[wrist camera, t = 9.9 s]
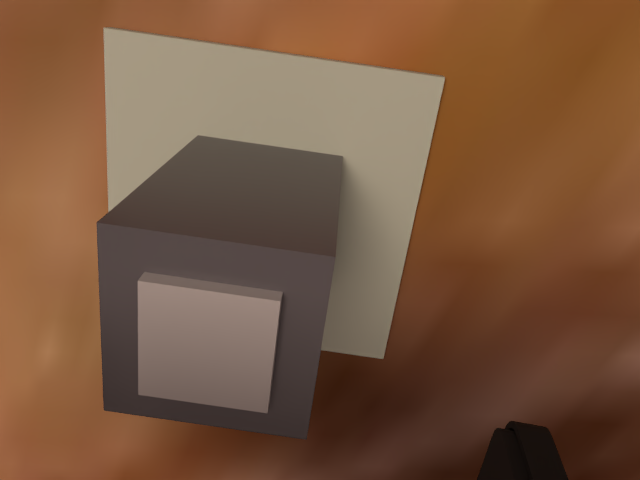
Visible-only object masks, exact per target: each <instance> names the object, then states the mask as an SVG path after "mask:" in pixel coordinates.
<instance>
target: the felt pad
mask: <svg viewBox="0 0 640 480" xmlns="http://www.w3.org/2000/svg"><path fill="white" fill-rule="evenodd" d="M104 63H105V100H106V137H107V174H108V211H111V210H112V209H113V208H114V207H115V206H116V205H118V204H119V203H120V202H121V201H122V200H123V199H125V198H126V197H127V196H128V195H129V194H130V193H131V192H133V191H134V190H135V189H136V188H137V187H138V186H140V185H141V184H142V183H143V182H144V181H145V180H146V179H148V178H149V177H150V176H151V175H152V174H153V173H155V172H156V171H157V170H158V169H159V168H160V167H162V166H163V165H164V164H165V163H166V162H167V161H168V160H170V159H171V158H172V157H173V156H174V155H175V154H177V153H178V152H179V151H180V150H181V149H182V148H184V147H185V146H186V145H187V144H188V143H189V142H190V141H192V140H193V139H194V138H195V137H196V136H197V135H200V136H207V137H214V138H221V139H228V140H235V141H242V142H249V143H256V144H263V145H270V146H277V147H283V148H290V149H297V150H304V151H311V152H318V153H325V154H332V155H339V156H343V163H342V177H341V190H340V204H339V218H338V232H337V246H336V258H335V265H334V271H333V277H332V283H331V290H330V296H329V302H328V308H327V315H326V321H325V327H324V333H323V340H322V346H321V350H324V351H331V352H337V353H344V354H351V355H358V356H365V357H372V358H379V359H383V358H384V354H385V349H386V345H387V340H388V336H389V331H390V326H391V322H392V317H393V313H394V308H395V304H396V299H397V295H398V290H399V286H400V281H401V276H402V272H403V267H404V263H405V258H406V254H407V249H408V245H409V240H410V236H411V231H412V226H413V222H414V217H415V213H416V208H417V204H418V199H419V195H420V190H421V186H422V181H423V176H424V172H425V167H426V163H427V158H428V154H429V149H430V145H431V140H432V135H433V131H434V126H435V122H436V117H437V113H438V108H439V104H440V99H441V95H442V90H443V85H444V81H445V77H444V76H441V75H435V74H428V73H421V72H414V71H407V70H400V69H393V68H387V67H380V66H373V65H366V64H359V63H352V62H346V61H339V60H332V59H325V58H318V57H311V56H304V55H298V54H291V53H284V52H277V51H270V50H263V49H257V48H250V47H243V46H236V45H229V44H222V43H215V42H209V41H202V40H195V39H188V38H181V37H174V36H168V35H161V34H154V33H147V32H140V31H133V30H126V29H120V28H113V27H106V28H104Z"/></svg>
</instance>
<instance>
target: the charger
mask: <svg viewBox="0 0 640 480" xmlns="http://www.w3.org/2000/svg"><path fill="white" fill-rule="evenodd" d="M342 163H343V156H339V155H332V154H325V153H318V152H311V151H304V150H297V149H290V148H283V147H277V146H270V145H263V144H256V143H249V142H242V141H235V140H228V139H221V138H214V137H207V136H200V135H197V136H196V137H195V138H194V139H193V140H192V141H190V142H189V143H188V144H187V145H186V146H185V147H184V148H182V149H181V150H180V151H179V152H178V153H177V154H175V155H174V156H173V157H172V158H171V159H170V160H168V161H167V162H166V163H165V164H164V165H163V166H162V167H160V168H159V169H158V170H157V171H156V172H155V173H153V174H152V175H151V176H150V177H149V178H148V179H146V180H145V181H144V182H143V183H142V184H141V185H140V186H138V187H137V188H136V189H135V190H134V191H133V192H131V193H130V194H129V195H128V196H127V197H126V198H125V199H123V200H122V201H121V202H120V203H119V204H118V205H116V206H115V207H114V208H113V209H112V210H111V211H109V212H108V213H107V214H106V215H105V216H104V217H103V218H101V219H100V220H99V221H98V222H97V245H98V271H99V297H100V323H101V349H102V375H103V401H104V410H105V411H112V412H119V413H125V414H132V415H139V416H146V417H153V418H160V419H167V420H174V421H181V422H188V423H195V424H202V425H209V426H216V427H223V428H229V429H236V430H243V431H250V432H257V433H264V434H271V435H278V436H285V437H292V438H299V439H307V433H308V427H309V421H310V415H311V408H312V402H313V396H314V390H315V383H316V377H317V371H318V365H319V358H320V352H321V346H322V340H323V333H324V327H325V321H326V315H327V308H328V302H329V296H330V290H331V283H332V277H333V271H334V265H335V258H336V246H337V232H338V218H339V204H340V190H341V177H342Z"/></svg>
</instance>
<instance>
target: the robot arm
mask: <svg viewBox="0 0 640 480" xmlns="http://www.w3.org/2000/svg"><path fill="white" fill-rule="evenodd" d="M477 480H568V477H567V475H566V472H565V470H564V467H563V464H562V462H561V459H560V457H559V454H558V451H557V449H556V446H555V444H554V441H553V438H552V436H551V433H550V432H549V430H548V429H547V428H546V427H543V426H537V425H531V424H525V423H520V422H514V421H510V422H509V423H508V424H507V425H506V428H505V429H501V428H497V429H496V430H495V431H494V433H493V436H492V439H491V441H490V444H489V447H488V450H487V453H486V456H485V459H484V461H483V464H482V467H481V470H480V473H479V476H478V478H477Z"/></svg>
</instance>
